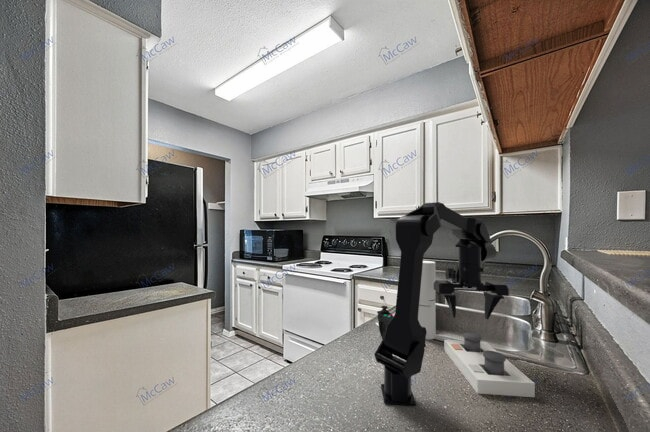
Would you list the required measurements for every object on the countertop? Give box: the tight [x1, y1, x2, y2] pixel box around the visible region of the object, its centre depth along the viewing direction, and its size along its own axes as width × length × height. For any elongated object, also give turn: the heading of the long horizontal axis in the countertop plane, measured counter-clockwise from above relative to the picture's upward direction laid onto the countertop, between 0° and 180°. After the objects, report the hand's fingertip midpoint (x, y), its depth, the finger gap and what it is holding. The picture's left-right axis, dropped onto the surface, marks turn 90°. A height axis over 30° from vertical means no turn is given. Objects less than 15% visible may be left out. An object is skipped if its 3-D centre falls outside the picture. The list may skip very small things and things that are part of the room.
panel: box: [443, 339, 536, 398], centre depth 73 cm, size 22×12×3 cm, turn 175°
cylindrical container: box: [418, 260, 437, 340], centre depth 96 cm, size 7×7×25 cm
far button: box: [462, 331, 482, 352], centre depth 79 cm, size 5×5×4 cm
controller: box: [376, 305, 394, 339], centre depth 91 cm, size 4×12×10 cm, turn 8°
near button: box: [483, 351, 507, 376], centre depth 67 cm, size 5×5×4 cm
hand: (470, 318), depth 79 cm, fingers open, 9 cm apart
